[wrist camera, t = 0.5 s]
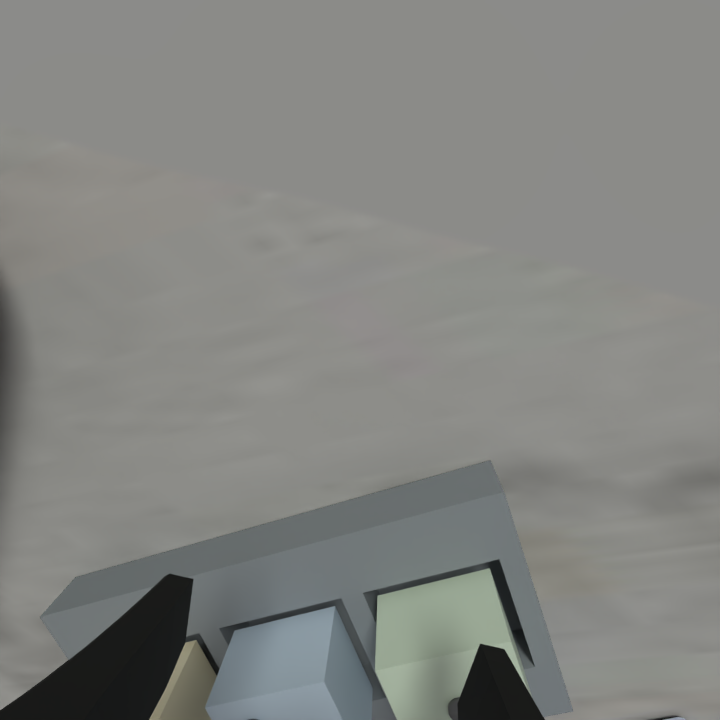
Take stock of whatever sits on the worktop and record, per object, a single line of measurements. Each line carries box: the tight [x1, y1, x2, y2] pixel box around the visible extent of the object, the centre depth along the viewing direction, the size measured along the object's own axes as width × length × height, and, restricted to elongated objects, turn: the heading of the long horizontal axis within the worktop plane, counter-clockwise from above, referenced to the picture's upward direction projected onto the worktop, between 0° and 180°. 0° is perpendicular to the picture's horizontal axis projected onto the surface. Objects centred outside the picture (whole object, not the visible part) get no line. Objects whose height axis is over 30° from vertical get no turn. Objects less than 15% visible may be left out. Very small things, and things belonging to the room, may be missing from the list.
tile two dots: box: [205, 606, 373, 720], centre depth 19 cm, size 5×5×4 cm
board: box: [40, 460, 573, 720], centre depth 22 cm, size 12×22×2 cm, turn 110°
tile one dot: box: [375, 568, 532, 720], centre depth 18 cm, size 5×5×4 cm
